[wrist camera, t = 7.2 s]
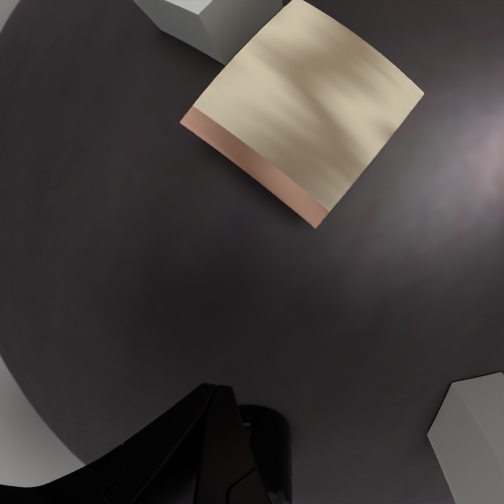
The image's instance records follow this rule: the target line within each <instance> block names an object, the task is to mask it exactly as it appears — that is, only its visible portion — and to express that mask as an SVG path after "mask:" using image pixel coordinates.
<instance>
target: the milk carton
mask: <svg viewBox="0 0 504 504" xmlns="http://www.w3.org/2000/svg"><path fill="white" fill-rule="evenodd" d="M427 436H428V439H429V441H430V443H431V445H432V447H433V450H434V452H435V454H436V457H437V459H438V461H439V463H440V466H441V468H442V471H443V473H444V475H445V478H446V480H447V483H448V485H449V488H450V490H451V493H452V495H453V498H454V501H455V503H456V504H504V375H503V373H502V372H499V373H494V374H490V375H486V376H482V377H477V378H472V379H468V380H463V381H457V382H453V383H452V384H451V386H450V388H449V390H448V393H447V395H446V397H445V399H444V401H443V404H442V406H441V408H440V410H439V412H438V414H437V416H436V418H435V420H434V422H433V424H432V426H431V428H430V430H429V431H428V433H427Z"/></svg>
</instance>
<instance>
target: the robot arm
mask: <svg viewBox="0 0 504 504" xmlns="http://www.w3.org/2000/svg"><path fill="white" fill-rule="evenodd" d="M0 504H273V503H272V501H271V500H270V498H269V496H268V494H267V491H266V489H265V486H264V484H263V481H262V479H261V476H260V473H259V470H258V469H257V464H256V461H255V459H254V455H253V452H252V449H251V446H250V443H249V440H248V437H247V434H246V431H245V428H244V424H243V421H242V418H241V415H240V411H239V408H238V405H237V402H236V398H235V395H234V391H233V388H232V387H231V386H226V385H218V386H216V385H215V384H208V383H202V384H201V385H199V386H198V387H197V388H196V389H194V390H193V391H192V392H191V393H189V394H188V395H187V396H185V397H184V398H183V399H182V400H180V401H179V402H178V403H176V404H175V405H174V406H173V407H171V408H170V409H169V410H167V411H166V412H165V413H163V414H162V415H161V416H159V417H158V418H157V419H155V420H154V421H153V422H151V423H150V424H149V425H147V426H146V427H144V428H143V429H142V430H140V431H139V432H138V433H136V434H135V435H133V436H132V437H131V438H129V439H128V440H126V441H125V442H124V443H123V445H122V444H121V445H119V446H118V447H116V448H115V449H113V450H112V451H110V452H109V453H107V454H106V455H104V456H102V457H101V458H99V459H97V460H96V461H94V462H92V463H90V464H88V465H86V466H84V467H82V468H80V469H78V470H76V471H74V472H72V473H70V474H68V475H66V476H63V477H61V478H59V479H56V480H54V481H52V482H50V483H47V484H44V485H41V486H36V487H27V488H25V487H16V486H8V485H1V484H0Z"/></svg>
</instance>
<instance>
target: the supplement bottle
mask: <svg viewBox="0 0 504 504" xmlns="http://www.w3.org/2000/svg"><path fill="white" fill-rule="evenodd" d="M239 411H240V415H241V418H242V421H243V424H244V428H245V431H246V434H247V437H248V440H249V443H250V446H251V449H252V452H253V455H254V459H255V461H256V464H257V469H258V470H259V473H260V476H261V479H262V481H263V484H264V486H265V489H266V491H267V494H268V496H269V498H270V500H271V501H272V503H273V504H292V455H291V432H290V428H289V426H288V424H287V422H286V421H285V420H284V419H283V418H282V417H280V416H279V415H278V414H276V413H274V412H272V411H269V410H266V409H262V408H256V407H242V408H239Z"/></svg>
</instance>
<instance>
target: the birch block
mask: <svg viewBox="0 0 504 504" xmlns="http://www.w3.org/2000/svg"><path fill="white" fill-rule="evenodd" d="M423 95H424V93H423V92H422V91H421V90H420V89H419V88H418V87H417V86H416V85H415V84H414V83H413V82H412V81H411V80H410V79H409V78H408V77H407V76H406V75H405V74H404V73H402V72H401V71H400V70H399V69H398V68H397V67H396V66H395V65H393V64H392V63H391V62H390V61H389V60H388V59H386V58H385V57H384V56H383V55H382V54H380V53H379V52H378V51H377V50H375V49H374V48H373V47H372V46H370V45H369V44H368V43H366V42H365V41H364V40H362V39H361V38H360V37H358V36H357V35H356V34H354V33H353V32H352V31H350V30H349V29H347V28H346V27H344V26H343V25H341V24H340V23H339V22H337V21H336V20H334V19H333V18H331V17H329V16H328V15H326V14H325V13H323V12H322V11H320V10H318V9H317V8H315V7H313V6H312V5H310V4H308V3H307V2H305V1H303V0H292V1H291V2H290V3H289V4H288V5H287V6H285V7H284V8H283V9H282V10H281V11H280V12H279V13H278V14H277V15H276V16H275V17H273V18H272V19H271V20H270V21H269V22H268V23H267V24H266V25H265V26H264V27H263V28H262V29H261V30H260V31H259V32H258V33H257V34H256V35H255V36H254V37H253V38H252V39H251V40H250V41H249V42H248V43H247V44H246V45H245V46H244V47H243V48H242V49H241V50H240V51H239V53H238V54H237V55H236V56H235V57H234V58H233V59H232V60H231V61H230V62H229V63H228V65H227V66H226V67H225V68H224V69H223V70H222V71H221V72H220V74H219V75H218V76H217V77H216V78H215V79H214V80H213V82H212V83H211V84H210V85H209V86H208V88H207V89H206V90H205V91H204V92H203V94H202V95H201V96H200V97H199V98H198V100H197V101H196V102H195V103H194V105H193V106H192V107H191V108H190V110H189V111H188V112H187V114H186V115H185V116H184V117H183V119H182V120H181V121H180V123H181V124H182V125H184V126H185V127H187V128H188V129H189V130H191V131H192V132H194V133H195V134H196V135H198V136H199V137H200V138H202V139H203V140H205V141H206V142H207V143H209V144H210V145H211V146H213V147H214V148H215V149H217V150H218V151H219V152H221V153H222V154H223V155H225V156H226V157H227V158H229V159H230V160H231V161H232V162H234V163H235V164H236V165H238V166H239V167H240V168H242V169H243V170H244V171H245V172H247V173H248V174H249V175H251V176H252V177H253V178H254V179H256V180H257V181H258V182H259V183H261V184H262V185H263V186H264V187H266V188H267V189H268V190H269V191H271V192H272V193H273V194H274V195H276V196H277V197H278V198H279V199H281V200H282V201H283V202H284V203H285V204H287V205H288V206H289V207H290V208H292V209H293V210H294V211H295V212H296V213H298V214H299V215H300V216H301V217H302V218H304V219H305V220H306V221H307V222H308V223H310V224H311V225H312V226H313V227H314V228H315V229H316V227H317V226H318V225H319V224H320V223H321V222H322V220H323V219H324V218H325V217H326V216H327V214H328V213H329V212H330V211H331V210H332V208H333V207H334V206H335V205H336V204H337V203H338V201H339V200H340V199H341V198H342V196H343V195H344V194H345V193H346V192H347V190H348V189H349V188H350V187H351V186H352V184H353V183H354V182H355V181H356V180H357V178H358V177H359V176H360V175H361V173H362V172H363V171H364V170H365V168H366V167H367V166H368V165H369V164H370V162H371V161H372V160H373V159H374V157H375V156H376V155H377V154H378V152H379V151H380V150H381V149H382V147H383V146H384V145H385V144H386V142H387V141H388V140H389V139H390V137H391V136H392V135H393V133H394V132H395V131H396V130H397V128H398V127H399V126H400V125H401V123H402V122H403V121H404V119H405V118H406V117H407V116H408V114H409V113H410V112H411V110H412V109H413V108H414V106H415V105H416V104H417V103H418V101H419V100H420V99H421V97H422V96H423Z"/></svg>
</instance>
